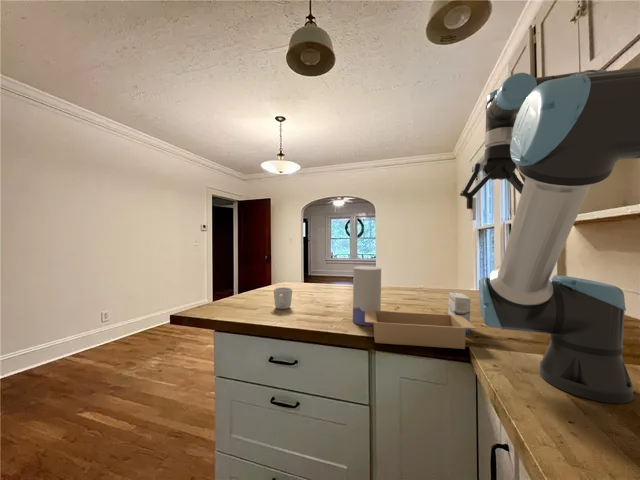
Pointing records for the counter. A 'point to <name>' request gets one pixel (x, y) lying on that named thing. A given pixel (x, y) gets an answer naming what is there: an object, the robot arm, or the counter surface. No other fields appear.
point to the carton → (419, 328)
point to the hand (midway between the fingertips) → (497, 220)
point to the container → (366, 292)
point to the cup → (282, 297)
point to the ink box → (459, 306)
